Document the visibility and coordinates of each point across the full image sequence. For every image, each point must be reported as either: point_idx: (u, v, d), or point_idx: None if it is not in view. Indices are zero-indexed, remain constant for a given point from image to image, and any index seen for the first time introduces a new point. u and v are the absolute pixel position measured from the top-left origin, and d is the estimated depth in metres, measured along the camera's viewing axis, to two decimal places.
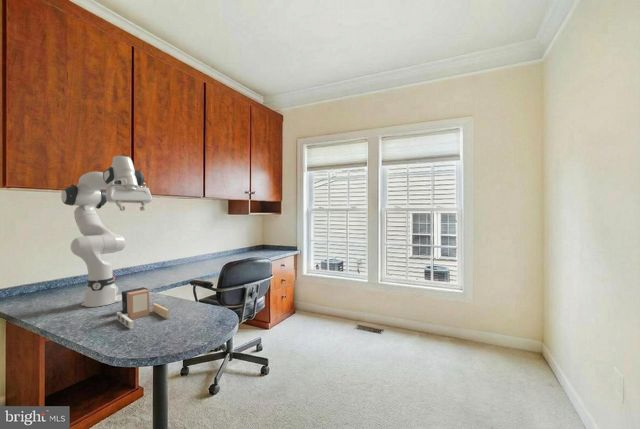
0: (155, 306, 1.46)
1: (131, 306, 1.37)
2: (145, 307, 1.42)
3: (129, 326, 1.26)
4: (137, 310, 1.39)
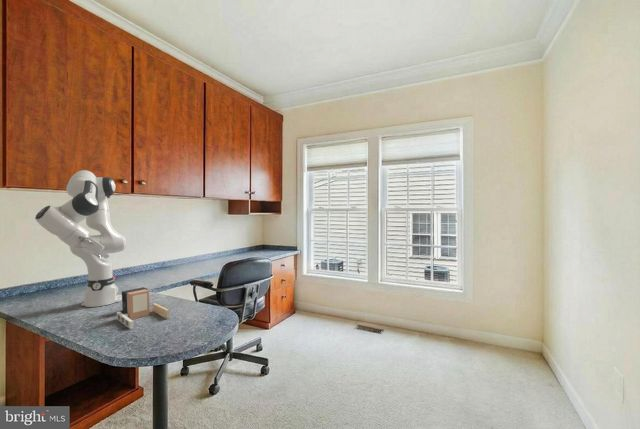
0: (155, 306, 1.46)
1: (131, 306, 1.37)
2: (145, 307, 1.42)
3: (129, 326, 1.26)
4: (137, 310, 1.39)
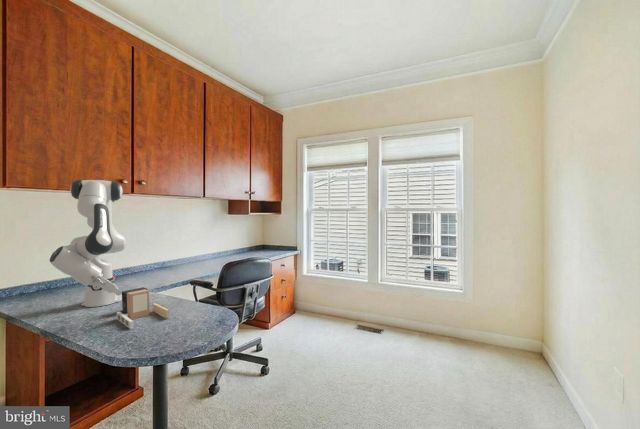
0: (155, 306, 1.46)
1: (131, 306, 1.37)
2: (145, 307, 1.42)
3: (129, 326, 1.26)
4: (137, 310, 1.39)
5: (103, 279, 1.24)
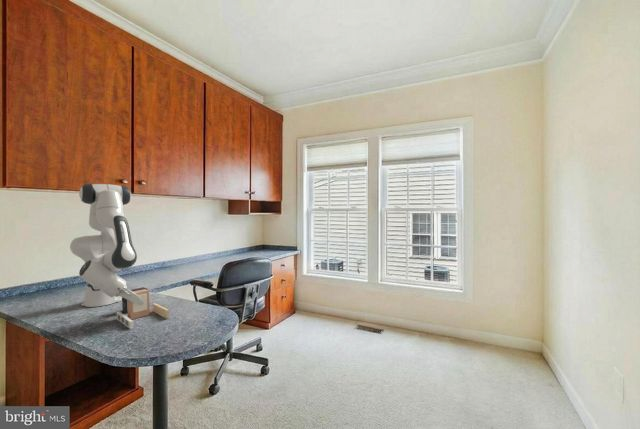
0: (155, 306, 1.46)
1: (131, 306, 1.38)
2: (145, 307, 1.42)
3: (129, 326, 1.26)
4: (137, 310, 1.39)
5: (129, 291, 1.31)
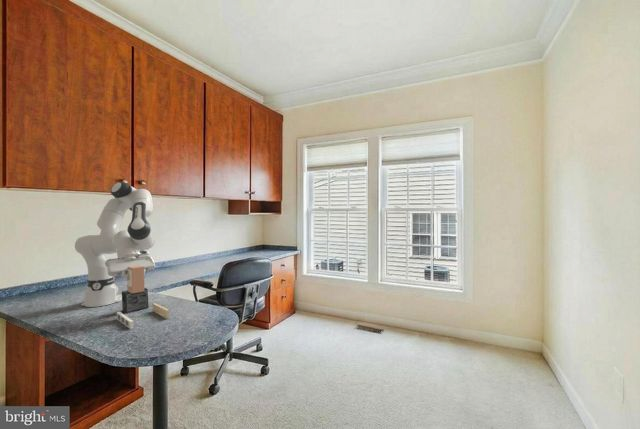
0: (155, 306, 1.46)
1: None
2: (131, 284, 1.39)
3: (129, 326, 1.26)
4: (128, 284, 1.41)
5: (108, 262, 1.40)
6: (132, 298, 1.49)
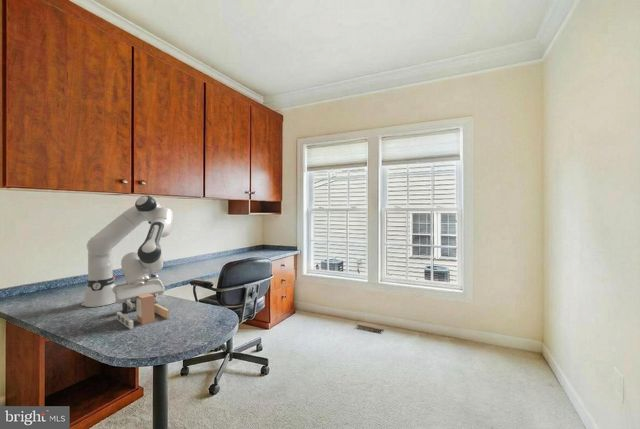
0: (155, 306, 1.46)
1: (136, 307, 1.35)
2: (141, 314, 1.32)
3: (129, 326, 1.26)
4: (138, 314, 1.34)
5: (116, 288, 1.32)
6: None
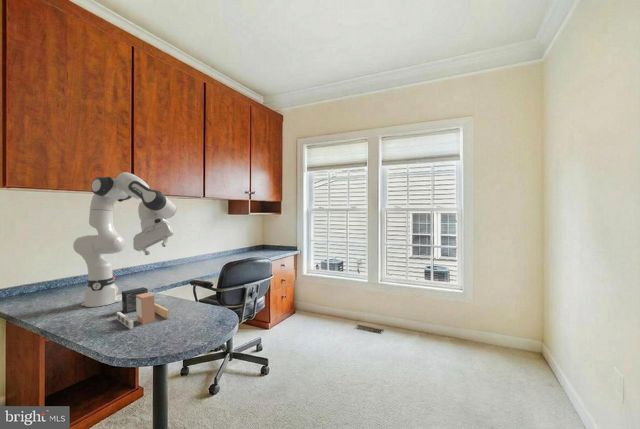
0: (155, 306, 1.46)
1: (136, 307, 1.35)
2: (141, 314, 1.32)
3: (129, 326, 1.26)
4: (138, 314, 1.34)
5: None
6: (132, 298, 1.49)
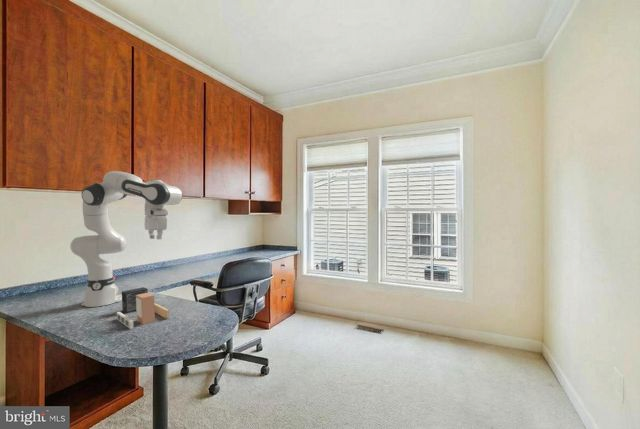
0: (155, 306, 1.46)
1: (136, 307, 1.35)
2: (141, 314, 1.32)
3: (129, 326, 1.26)
4: (138, 314, 1.34)
5: None
6: (132, 298, 1.49)
